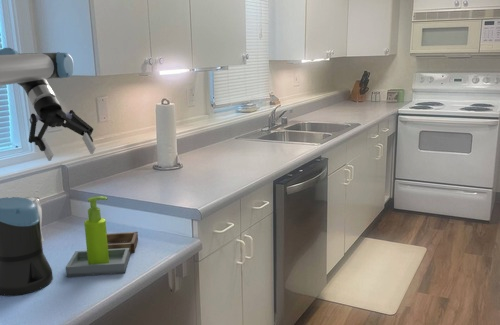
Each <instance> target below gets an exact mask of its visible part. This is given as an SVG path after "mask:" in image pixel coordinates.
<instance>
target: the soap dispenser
mask: <svg viewBox="0 0 500 325" xmlns="http://www.w3.org/2000/svg"><path fill="white" fill-rule="evenodd" d="M107 200H108V197H107V196H91V197H88V198H87V202H88V203H89V204H90V208H88V209H87V215H88V216H87V217H88V219H86V220H85V221H84V234H85V244H86V251H87V256H88V264H103V263H109V255H108V244H109V243H107V234H108V233H107V231H108V230H107V223H106V222H107V221H106V219H105V218H104V217H102V215H101V208H100V207H98V204H97V201H107Z"/></svg>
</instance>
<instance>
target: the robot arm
mask: <svg viewBox="0 0 500 325" xmlns="http://www.w3.org/2000/svg"><path fill="white" fill-rule="evenodd" d="M74 64H75V63H74V60H73V57H72V56H71V55H70V54H69V53H68V52H59V51H58V52H37V53H33V52H32V53H30V52H29V53H20V52H18V51H17V50H14V48H11V47H4V48H1V49H0V87H1V86H6V85H12V84H17V85H19V86H20V87H22V88H23V89H24V92H25V94H26V95H27V97H28V99H29V101H30V103H31V105H32V106H33V109H34V110H35V112H36V114H35V113H31V114H30V117H29V119H28V120H29V122H30V128H29V135H28V136H29V137H28V143H30V144H33V143H34V145H35V146H38V149H39V150H40V151H41V152H43V153H44V155H45V157H46V159H47V161H49V162H50V161H52V159H53V158H54V154H53V152H52V150H51V148H50V145H49V144H48V142H47V139H46V138H45V137H44V135H45V134H46V131H47V129H48V127H50V128H52V129H53V128H56V127H57V128H58V127H59V128H60V127H63V128H65V129H66V128H67V129H69V130H70V131H73V132H74V133H76V134H78V135H80V136H82V137H81V139H82V141H83V143H84V144H85V146H86V148H87V150H88V152H89V154H90V155H93V154H95V153H94V152H95V150H96V147H95V145H94V143H93V142H94V139H93V137H92V134H93V131H94V127H92V126H91V125H90V124H88V123H87V122H86V121H85V120H83V119H82V118H81V117H80V116H78V115H77V114H76V112H75V111H74V110H73V109H70V110H69V111H68V112H65V111H64V110H63V109H62V105H61V103H60V101H59V100H58V98H57V96H56V93H55V92H54V90H53V89H52V86H50V84H49V81H48V80H50V79H65V78H68V79H69V78H71V76H72V75H73V73H74V70H75V65H74ZM38 121H40V122H41V123H43V125H42V127H41V128H40V131H39V132H38V134H37V136H36V135H35V134H36V130H37V129H36V128H37V123H38ZM43 137H44V138H43ZM26 198H27V197H21V196H20V197H19V196H18V197H17V196H12V197H1V198H0V296H5V297H6V296H7V297H10V296H20V295H26V294H30V293H34V292H36V291H39V290H41V289H43V288H45V287H47V286H48V285H50V283H51V282H53V279H54V276H53V275H54V274H53V269H52V267H51V266H50V264H49V262H48V259H47V258H46V256H45V253H44V249H43V242H42V238H41V232H42V228H41V229H40V216H39V213H38V208H37V205H36V204H35V203H34V202H33V201H32V200H29V199H26Z"/></svg>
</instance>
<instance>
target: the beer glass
mask: <svg viewBox="0 0 500 325" xmlns="http://www.w3.org/2000/svg"><path fill="white" fill-rule="evenodd" d="M25 198H26V199H29V200H32V201H33V202H34V203H35V204H36V205H37V208H38V213H39V216H40V229H41V230H42V223H43V222H42V220H43V209H42V204H41V199H40V197H39V196H28V197H25ZM41 238H42V243H44V241H45V240H44V237H43V233H42V231H41Z"/></svg>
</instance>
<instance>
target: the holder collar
mask: <svg viewBox="0 0 500 325" xmlns="http://www.w3.org/2000/svg"><path fill="white" fill-rule="evenodd" d="M138 236H139V234H138V231H130V232H129V231H128V232H127V231H126V232H113V233H112V232H111V233H107V243H108V249H120V248H129V252H130V254H134V253H135V252H136V248H137V247H138V246H137V245H138V242H139V237H138Z"/></svg>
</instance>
